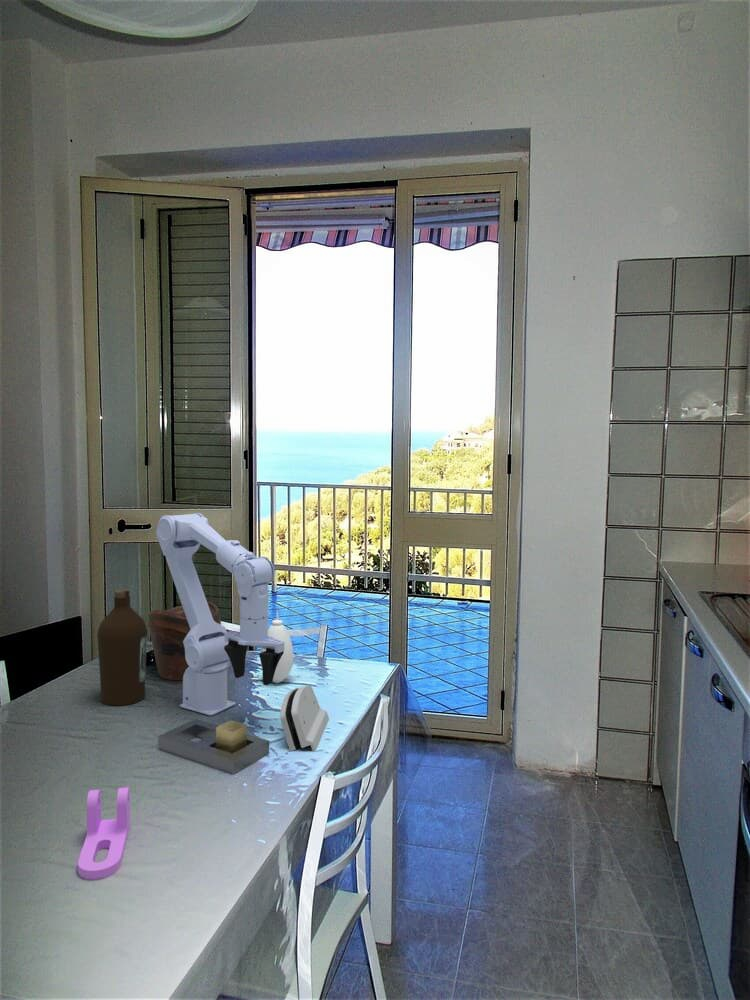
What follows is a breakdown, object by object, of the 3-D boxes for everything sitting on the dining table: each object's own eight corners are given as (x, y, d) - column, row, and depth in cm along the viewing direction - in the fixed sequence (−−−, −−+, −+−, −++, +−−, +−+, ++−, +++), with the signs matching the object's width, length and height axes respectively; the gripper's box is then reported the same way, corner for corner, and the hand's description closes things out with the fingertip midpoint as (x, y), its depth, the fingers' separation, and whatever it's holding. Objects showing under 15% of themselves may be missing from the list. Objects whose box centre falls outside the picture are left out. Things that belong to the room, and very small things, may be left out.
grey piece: (315, 752, 134) (298, 703, 133) (292, 758, 134) (275, 710, 134) (329, 718, 150) (314, 674, 150) (308, 724, 151) (293, 681, 150)
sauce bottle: (254, 681, 172) (254, 610, 170) (278, 674, 178) (278, 604, 176) (275, 689, 167) (275, 615, 165) (299, 681, 173) (300, 610, 171)
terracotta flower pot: (221, 657, 190) (220, 593, 188) (221, 683, 171) (220, 611, 169) (153, 661, 186) (151, 595, 185) (145, 688, 167) (143, 615, 165)
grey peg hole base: (158, 748, 134) (158, 736, 134) (196, 730, 142) (195, 718, 142) (233, 774, 124) (233, 760, 124) (269, 753, 133) (269, 740, 133)
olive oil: (96, 709, 153) (94, 596, 150) (99, 692, 163) (98, 586, 161) (147, 704, 156) (146, 594, 154) (147, 688, 166) (147, 584, 164)
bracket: (91, 829, 106) (91, 785, 106) (130, 826, 107) (129, 782, 107) (74, 882, 93) (73, 833, 93) (118, 877, 95) (117, 828, 94)
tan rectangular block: (230, 750, 134) (230, 720, 133) (246, 755, 132) (246, 724, 131) (216, 758, 130) (216, 727, 130) (232, 763, 128) (232, 732, 128)
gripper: (214, 615, 145) (214, 679, 146) (269, 625, 137) (268, 692, 139) (237, 608, 151) (236, 669, 152) (291, 618, 143) (290, 682, 145)
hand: (253, 680), depth 146 cm, fingers open, 7 cm apart
